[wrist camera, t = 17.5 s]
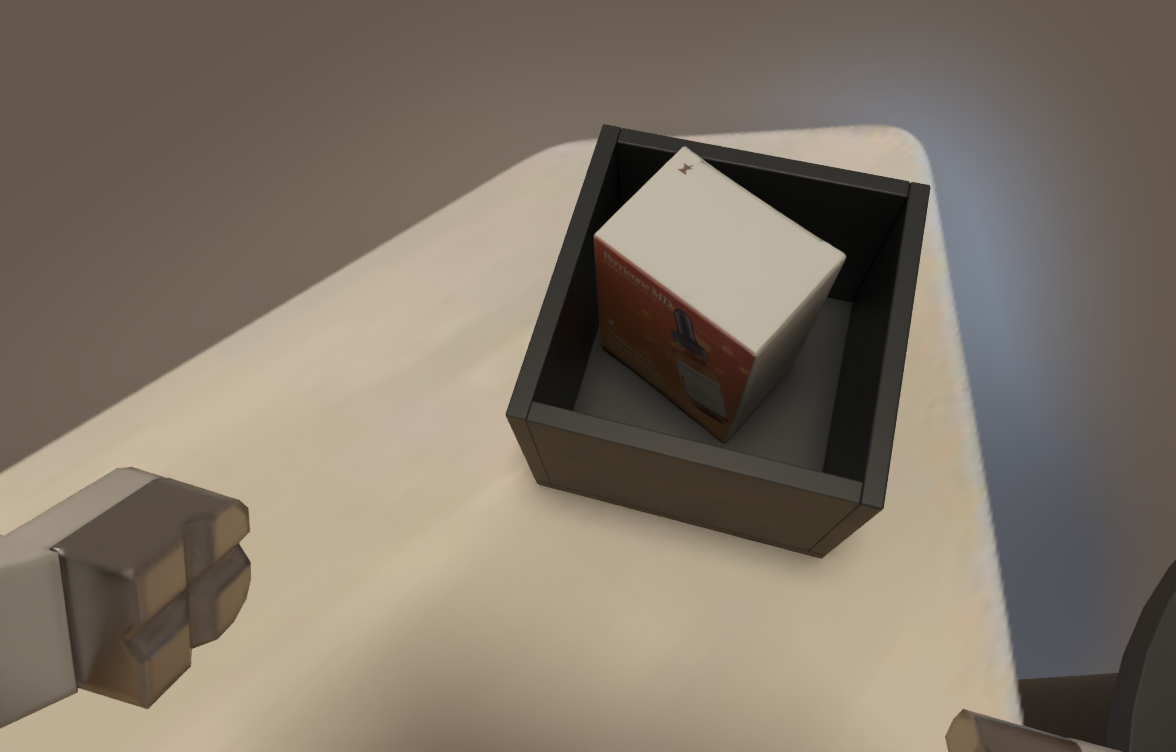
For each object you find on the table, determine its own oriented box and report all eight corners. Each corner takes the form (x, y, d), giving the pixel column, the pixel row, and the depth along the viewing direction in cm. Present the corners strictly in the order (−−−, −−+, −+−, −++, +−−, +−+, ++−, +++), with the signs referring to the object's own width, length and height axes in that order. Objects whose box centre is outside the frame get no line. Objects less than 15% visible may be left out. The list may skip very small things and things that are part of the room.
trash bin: (866, 299, 41) (931, 184, 32) (822, 558, 36) (884, 510, 27) (610, 245, 43) (602, 123, 34) (536, 483, 38) (504, 415, 29)
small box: (598, 347, 40) (586, 231, 30) (671, 272, 41) (681, 139, 31) (725, 448, 37) (755, 358, 28) (797, 365, 39) (851, 252, 29)
